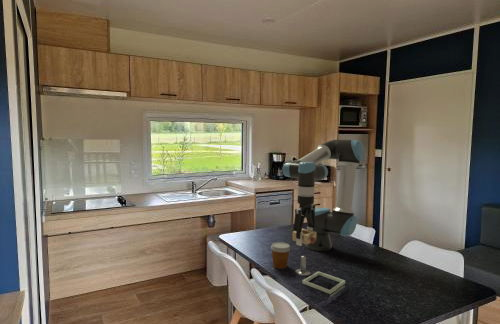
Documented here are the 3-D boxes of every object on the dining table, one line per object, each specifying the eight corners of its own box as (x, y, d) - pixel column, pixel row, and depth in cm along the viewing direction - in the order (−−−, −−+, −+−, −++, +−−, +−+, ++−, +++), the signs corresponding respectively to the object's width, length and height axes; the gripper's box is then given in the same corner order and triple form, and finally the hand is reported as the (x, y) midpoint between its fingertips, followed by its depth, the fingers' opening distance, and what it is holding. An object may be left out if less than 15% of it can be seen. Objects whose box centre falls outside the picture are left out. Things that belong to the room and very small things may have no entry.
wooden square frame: (301, 236, 154) (302, 228, 154) (318, 241, 148) (318, 232, 148) (292, 240, 149) (292, 232, 148) (309, 245, 142) (309, 236, 142)
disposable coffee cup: (274, 273, 151) (274, 249, 150) (267, 265, 160) (268, 242, 159) (292, 271, 153) (293, 247, 152) (285, 264, 162) (286, 241, 161)
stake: (300, 270, 155) (301, 252, 154) (313, 275, 150) (313, 256, 149) (292, 274, 150) (293, 256, 149) (305, 279, 145) (305, 260, 144)
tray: (318, 277, 148) (318, 271, 148) (345, 286, 139) (345, 280, 139) (302, 286, 138) (302, 280, 138) (330, 297, 129) (330, 291, 129)
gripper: (310, 191, 157) (309, 236, 159) (285, 196, 142) (284, 246, 144) (324, 193, 152) (322, 239, 154) (300, 199, 137) (298, 250, 139)
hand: (304, 242), depth 149 cm, fingers closed on wooden square frame, 8 cm apart
